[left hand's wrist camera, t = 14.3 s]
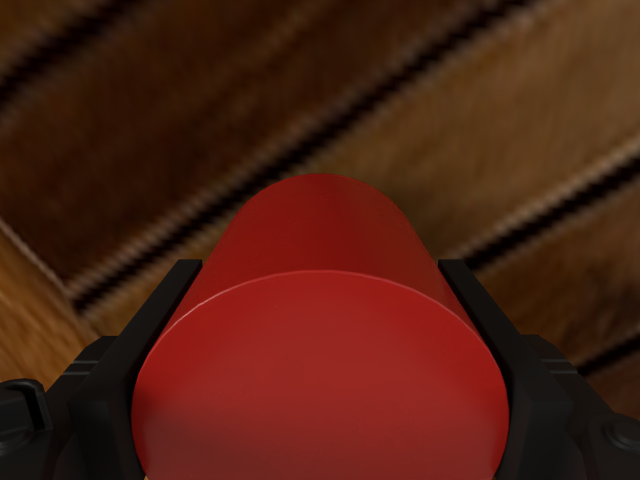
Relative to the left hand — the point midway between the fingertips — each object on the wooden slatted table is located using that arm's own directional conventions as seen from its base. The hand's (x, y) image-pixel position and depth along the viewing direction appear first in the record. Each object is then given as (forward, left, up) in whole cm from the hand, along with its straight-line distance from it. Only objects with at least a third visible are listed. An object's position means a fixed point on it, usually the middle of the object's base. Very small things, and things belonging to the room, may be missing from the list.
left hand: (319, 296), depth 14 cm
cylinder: (0, 0, -2) cm, 2 cm away
